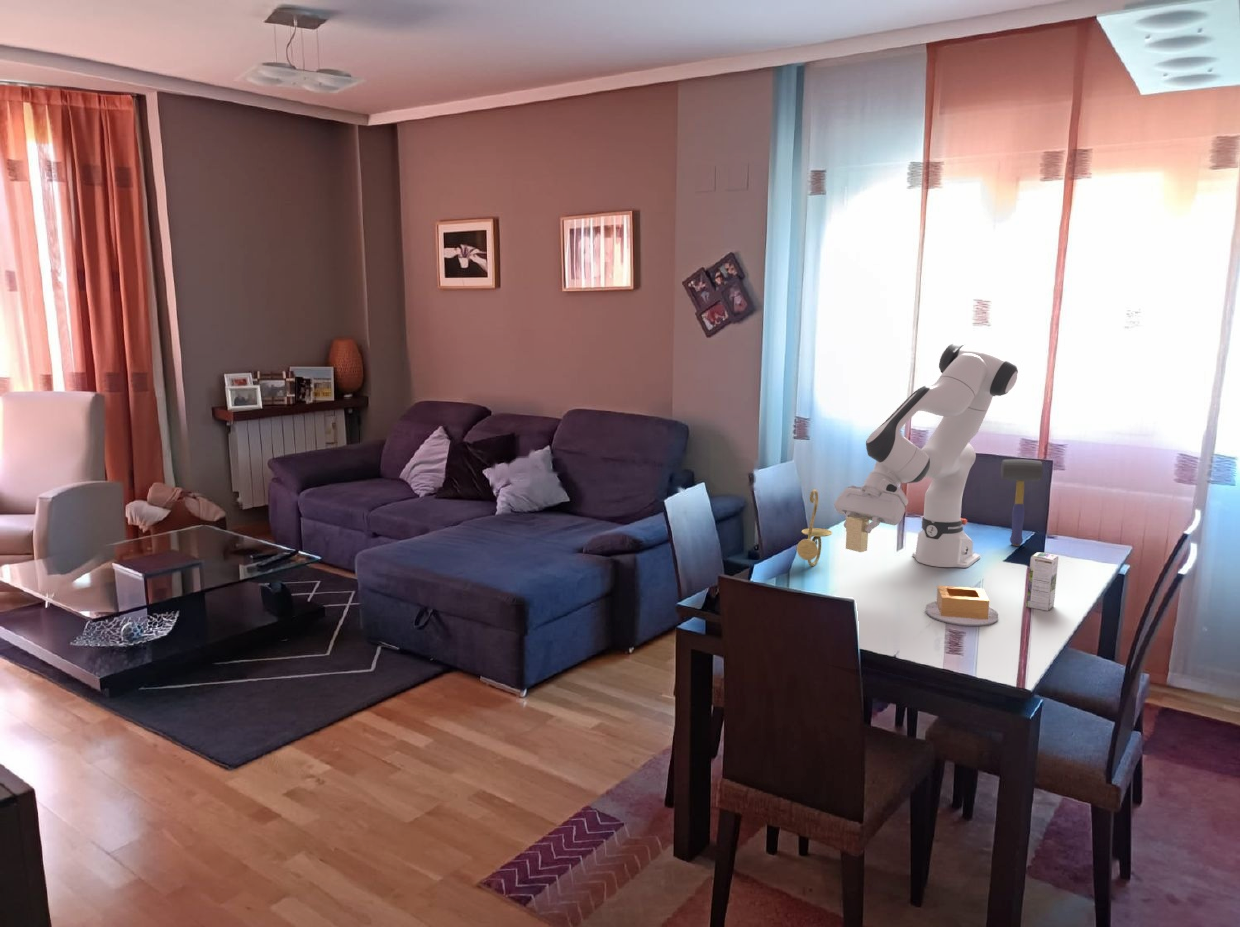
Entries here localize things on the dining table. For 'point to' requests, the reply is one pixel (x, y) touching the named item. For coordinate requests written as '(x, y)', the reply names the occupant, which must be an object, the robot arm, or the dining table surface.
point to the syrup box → (1042, 581)
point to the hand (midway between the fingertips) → (856, 529)
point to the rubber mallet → (1020, 489)
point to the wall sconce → (809, 547)
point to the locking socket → (962, 607)
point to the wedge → (856, 533)
